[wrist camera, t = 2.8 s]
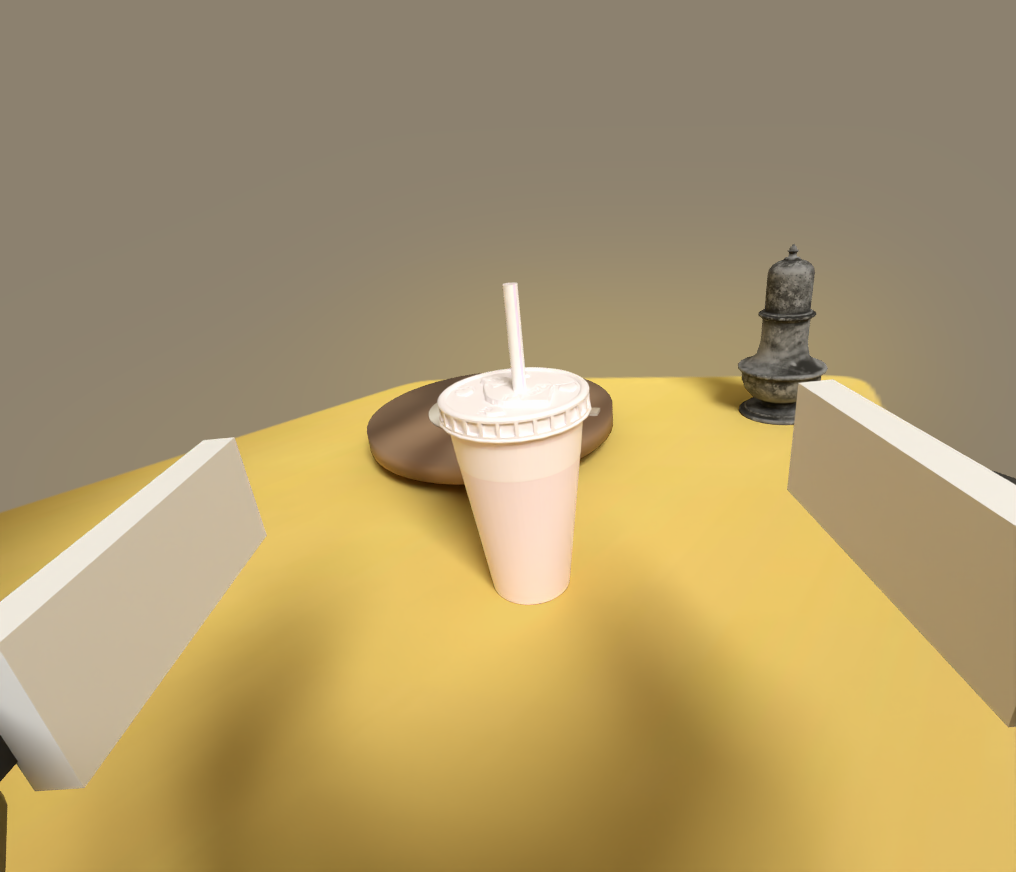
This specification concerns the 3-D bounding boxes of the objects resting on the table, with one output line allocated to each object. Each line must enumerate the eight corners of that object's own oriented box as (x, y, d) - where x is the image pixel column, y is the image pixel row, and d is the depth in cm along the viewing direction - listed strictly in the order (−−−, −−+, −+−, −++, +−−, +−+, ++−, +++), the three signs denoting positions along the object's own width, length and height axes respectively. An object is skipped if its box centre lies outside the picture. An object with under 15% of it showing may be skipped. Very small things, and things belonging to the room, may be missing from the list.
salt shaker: (740, 394, 46) (752, 241, 41) (822, 400, 43) (845, 236, 38) (728, 421, 41) (740, 252, 36) (819, 430, 38) (844, 248, 34)
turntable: (319, 471, 38) (313, 450, 37) (439, 383, 53) (436, 366, 52) (579, 497, 31) (578, 472, 31) (631, 388, 46) (631, 369, 46)
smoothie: (513, 649, 23) (471, 308, 17) (442, 573, 28) (391, 290, 22) (627, 583, 26) (622, 274, 20) (544, 525, 31) (522, 265, 25)
